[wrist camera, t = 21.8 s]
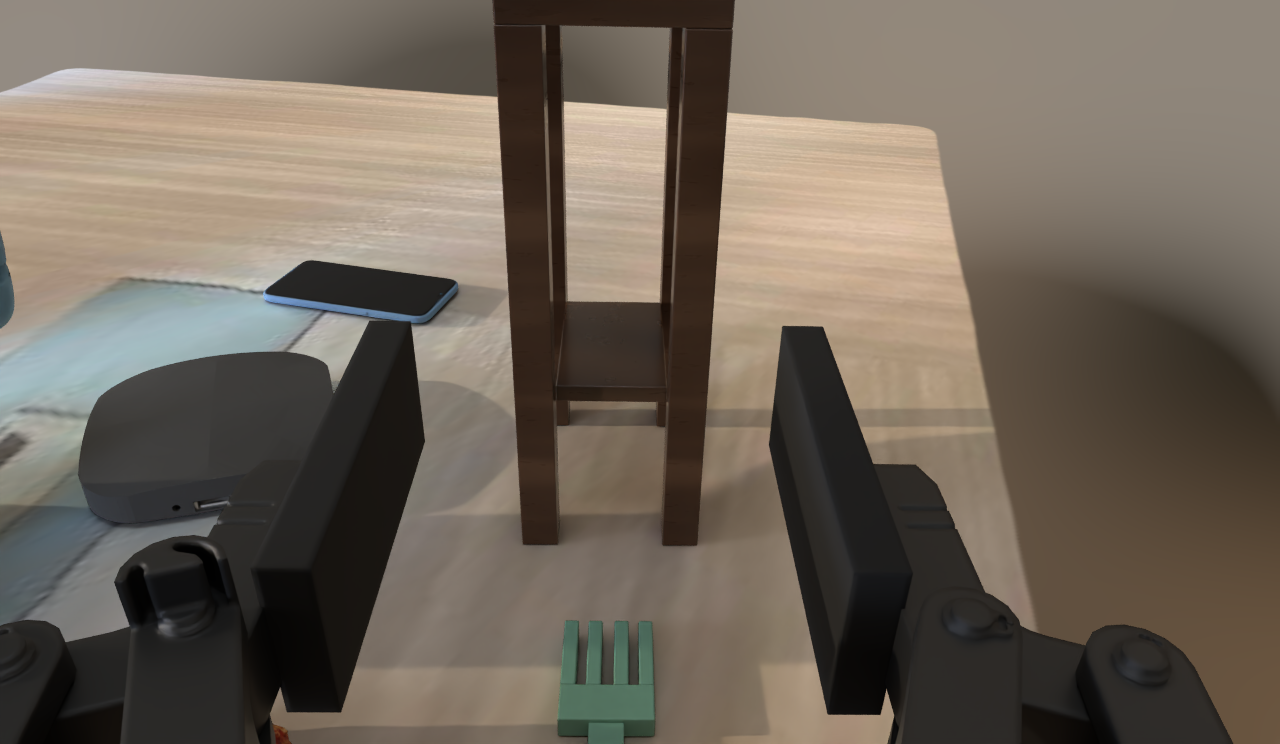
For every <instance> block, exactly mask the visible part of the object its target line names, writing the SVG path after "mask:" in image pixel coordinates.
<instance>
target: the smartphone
mask: <svg viewBox="0 0 1280 744" xmlns="http://www.w3.org/2000/svg"><path fill="white" fill-rule="evenodd" d="M457 290H458V283H457V282H456V281H455V280H452V279H447V278H439V277H432V276H424V275H417V274H410V273H402V272H395V271H388V270H380V269H373V268H366V267H358V266H351V265H344V264H336V263H329V262H321V261H313V260H311V261H305V262H303V263H301V264H300V265H298V266H297V267H295V268H294V269H293V270H291V271H290V272H289V273H287V274H286V275H285V276H283V277H282V278H281V279H279V280H278V281H276V282H275V283H274V284H272V285H271V286H270V287H268V288H267V289H266V290H265V291H264V294H263V295H264V298H265V300H267V301H269V302H274V303H281V304H288V305H295V306H301V307H308V308H315V309H322V310H329V311H335V312H342V313H349V314H356V315H362V316H369V317H376V318H383V319H389V320H396V321H411V323H423V322H426V321H428V320H429V319H431V318H432V317H433V316H434V315H435V314H436V312H437V311H438V310H439V309H440V308H441V307H442V306H443V305H444V304H445V303H446V302H447V301H448V300H449V299H450V298H451V297H452V296H453V295H454V294H455V293H456V292H457Z"/></svg>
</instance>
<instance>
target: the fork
mask: <svg viewBox="0 0 1280 744" xmlns="http://www.w3.org/2000/svg"><path fill="white" fill-rule="evenodd" d="M602 644H603V622H602V621H589V629H588V650H587V671H586V684H576V682H577V665H578V648H579V621H565V628H564V641H563V654H562V667H561V680H560V694H559V707H558V735H559V736H588V744H624V736H654V731H655V701H654V666H653V630H652V622H651V621H640V622H639V623H638V682H639V685H628V679H629V623H628V621H615V630H614V685H601V676H602Z"/></svg>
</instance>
